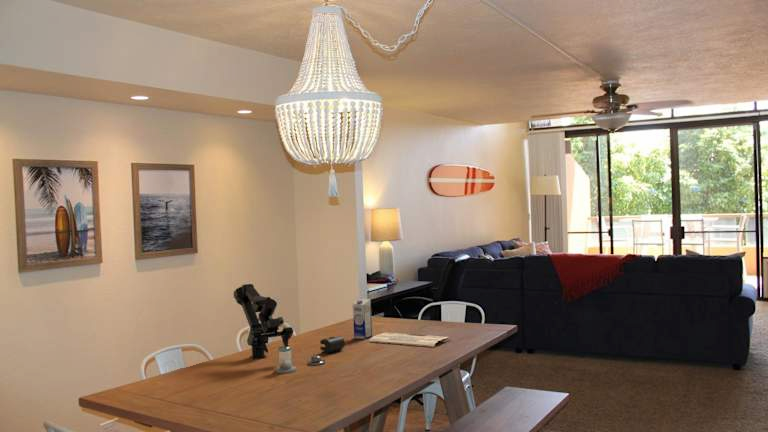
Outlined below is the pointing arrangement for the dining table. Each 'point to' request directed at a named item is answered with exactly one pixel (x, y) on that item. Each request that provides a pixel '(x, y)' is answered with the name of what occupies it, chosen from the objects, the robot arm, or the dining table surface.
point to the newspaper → (409, 339)
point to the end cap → (332, 344)
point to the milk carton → (362, 319)
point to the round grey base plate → (316, 361)
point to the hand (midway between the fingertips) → (277, 351)
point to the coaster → (285, 370)
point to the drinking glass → (285, 358)
